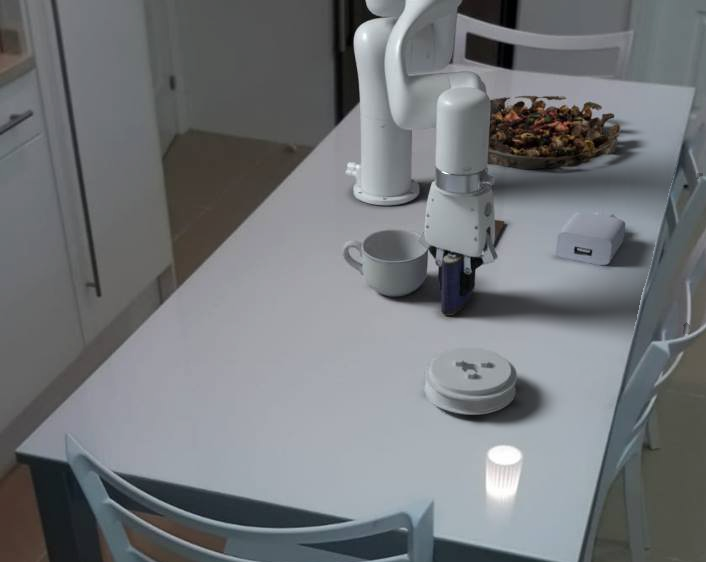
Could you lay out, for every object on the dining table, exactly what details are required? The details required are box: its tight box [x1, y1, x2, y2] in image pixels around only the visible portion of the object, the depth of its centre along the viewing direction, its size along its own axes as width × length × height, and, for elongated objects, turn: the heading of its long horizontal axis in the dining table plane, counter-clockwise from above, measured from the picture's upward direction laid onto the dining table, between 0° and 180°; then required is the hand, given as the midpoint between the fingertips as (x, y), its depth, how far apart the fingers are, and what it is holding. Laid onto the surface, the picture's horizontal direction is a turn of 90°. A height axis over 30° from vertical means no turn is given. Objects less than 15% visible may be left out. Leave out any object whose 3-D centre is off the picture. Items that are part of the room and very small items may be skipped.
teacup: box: [341, 228, 429, 298], centre depth 175 cm, size 14×11×8 cm
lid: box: [423, 347, 518, 416], centre depth 151 cm, size 13×13×5 cm
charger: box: [555, 211, 626, 266], centre depth 187 cm, size 5×9×15 cm
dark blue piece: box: [440, 251, 474, 316], centre depth 169 cm, size 9×3×11 cm, turn 152°
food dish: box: [487, 95, 621, 170], centre depth 225 cm, size 35×33×8 cm
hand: (456, 288), depth 170 cm, fingers closed on dark blue piece, 3 cm apart
